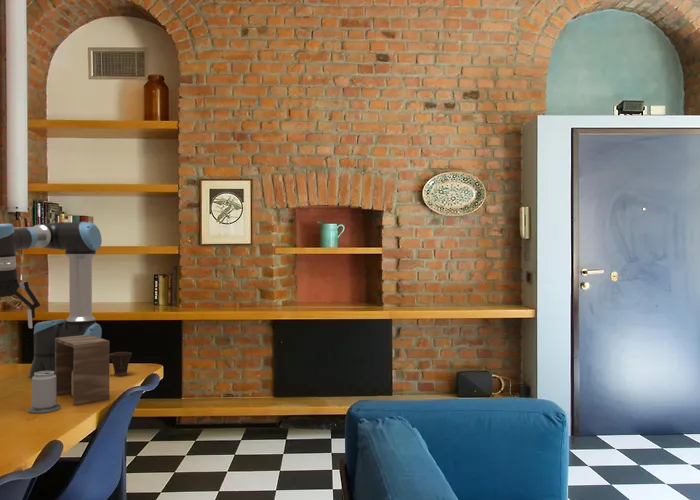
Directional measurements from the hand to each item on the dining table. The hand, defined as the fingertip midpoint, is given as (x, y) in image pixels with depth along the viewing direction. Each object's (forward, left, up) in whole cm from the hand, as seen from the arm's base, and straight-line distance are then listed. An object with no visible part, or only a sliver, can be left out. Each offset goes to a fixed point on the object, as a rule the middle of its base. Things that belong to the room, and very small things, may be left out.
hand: (8, 330), depth 207 cm
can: (+11, +8, -26) cm, 29 cm away
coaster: (+12, +8, -26) cm, 30 cm away
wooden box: (+5, +23, -26) cm, 35 cm away
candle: (0, +24, -26) cm, 36 cm away
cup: (-21, +49, -26) cm, 59 cm away
